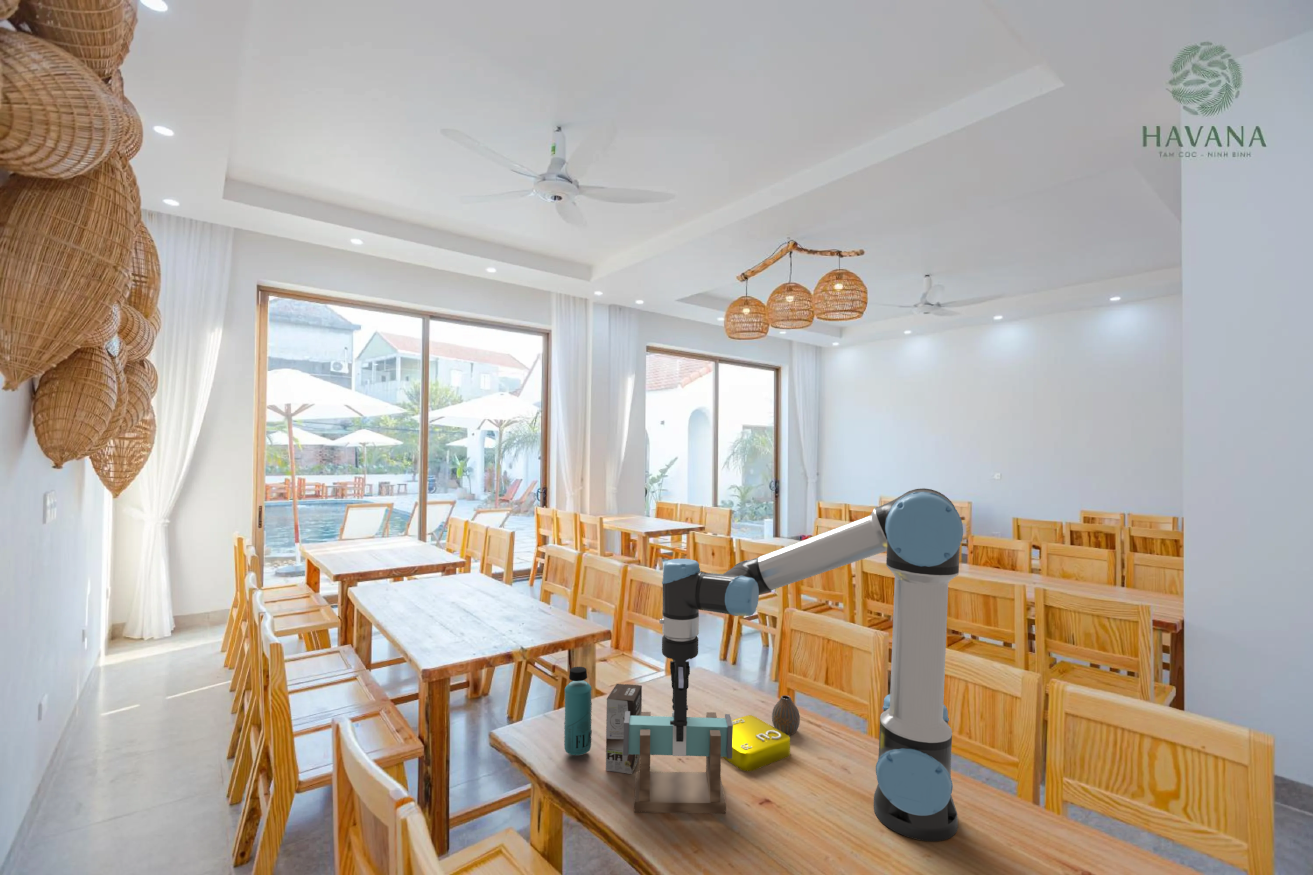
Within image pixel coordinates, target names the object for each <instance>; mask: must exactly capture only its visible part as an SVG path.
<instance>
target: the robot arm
mask: <svg viewBox="0 0 1313 875" xmlns="http://www.w3.org/2000/svg"><path fill="white" fill-rule="evenodd" d="M963 536H964V527H963V522H962V518H961V516H960V514H959V512H958V510H957V509H956V506H955V505H954V503H953V502H952V501H951V500H950V499H949V498H948V497H947V496H946V495H945V494H943V493H942V492H940V491H938V490H934V489H932V488H925V487H922V488H914V489H911V490H909V491H907V492H905V493H903V494H902V495H900V496H898V497H897V498H895V499H892V500H891V501H888V502H886V503H883V504H882V505H880V506H877V507H874V508H873V509H872V512H871V514H869V515H867V516H865V517H863V518H860V519H857V520H855V521H852V522H848V523H846V524H842V525H841V526H838V527H834V528H833V529H829V530H827V531H824V532H822V533H819V534H817V535H816V534H815V535H814V536H811V537H808V538H806V539H803V540H800V541H798V542H796V543H792V544H790V545H787V546H784V547H782V548H781V547H780V548H779V549H776V550H774V551H769V552H768V553H765V554H763V555H760V556H758V557H755V558H752V559H748V560H747V559H746V560H743V561H740V562H738V563H736V564H735V565H734V566H733V567H732V568H730V569H729V570H727V571H726V572H724V573H713V572H711V573H710V572H704V571H701V569H700V568H701V567H700V563H699V561H697V560H694V559H690V558H673V559H669V560H667V561H666V562H665V563H664V565H663V570H662V572H663V573H662V581H661V584H662V618H660V619H659V624H660V625H662V628H661V629H662V631H661V633H662V634H663V635H662V636H661V653H662V655H663V656H664V657H665V658H667V659H671V660H670V661H669V669H670V670H669V671H670V672H669V673H670V679H671V680H670V681H671V688H672V698H671V701H672V705H671V706H672V707H671V709H672V710H673V711H672V713H671V714H672V715H671V717H674V720H673V721H670V725H673V755H672V756H673V757H687V756H686V726H687V717H688V715H687V714H688V713H687V712H688V710H689V706H688V689H689V684H690V683H689V681H690V680H689V676H690V674H691V673H690V672H691V666H690V661H688V660H692V659H694V658H696V657H697V656H698V655H699V637H698V636H699V634H700V613H699V612H700V611H706V612H713V613H719V614H724V615H731V616H734V617H739V616H741V617H750V616H753V615H755V613H756V610H757V608H758V605H759V599H760V598H759V597H760V596H759V595H763V594H766V593H768V592H771V591H774V590H776V589H779V588H781V587H785V586H787V585H792V584H794V583H797V582H800V581H802V580H807V579H809V578H811V577H814V576H818V575H820V574H823V573H826V572H828V571H833V570H836V569H838V568H841V567H845V566H846V565H851V564H853V563H856V562H859V561H861V560H864V559H867V558H870V557H873V556H876V555H879V554H882V553H885V552H886V563H885V565H886V567H887V569H888V570H889V571H890V572H891V573H892V574H893V575H894V593H893V615H892V616H893V619H892V638H891V639H892V641H891V642H892V644H891V663H890V664H891V669H890V673H891V674H890V690H889V691H890V693H889V694H887V695H885V697H884V699H883V706H882V710H883V712H882V713H881V714H880V717H879V734H878V735H879V738H878V740H879V741H878V757H877V762H876V764H875V776H876V779H877V780H876V781H877V786H876V788H875V791H874V795H873V812H874V814H875V816H876V818H878V820H879V821H880V822H881V823H882V824H883V825H884V826H886V827H887V828H888V829H890V830H891V831H894V832H896V833H897V834H899V835H902V836H904V837H907V838H910V839H914V840H917V841H923V842H939V841H941V842H942V841H946V840H948V839H950V838H952V837H954V836H955V834H956V833H957V832H958V828H959V826H958V825H959V824H958V822H959V821H958V820H959V817H958V812H957V808H956V806H955V805H956V804H955V802H954V799H953V796H952V793H953V788H954V787H953V786H954V785H953V781H952V776H951V773H952V769H951V768H952V747H953V746H952V743H953V742H952V741H953V730H952V728H951V727H950V725H949V722H950V718H949V712H948V708H947V707H946V705H945V704H944V703H945V700H944V699H945V698H944V696H945V677H946V676H945V673H946V672H945V671H946V653H947V652H946V651H947V624H948V606H949V605H948V604H949V602H948V600H949V599H948V598H949V583H950V582H951V581H952V580H953V579H955V578H956V577H957V576H958V575H959V572H960V570H959V568H960V555H961V554H960V548H961V544H962V543H961V542H962V541H963ZM699 610H700V611H699Z"/></svg>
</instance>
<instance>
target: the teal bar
mask: <svg viewBox="0 0 1313 875" xmlns="http://www.w3.org/2000/svg"><path fill="white" fill-rule="evenodd" d="M673 720H674V717H672V716H665V715H664V716H663V715H662V716H661V715H658V716H657V715H655V716H654V715H651V716H630V711H625V719H624V742H623V756H628V754H640V729H642V730H650V756H673V725H670V721H673ZM731 720H732V717H731V714H730V713H725V714H724V717H717V718H706V717H695V716H694V717H693V716H692V717H691V716H687V726H686V756H685V757H689V756H690V757H706V756H710V730H720V734H721V758H723V757H727V758H728V759H732V741H733V724H732V721H731Z"/></svg>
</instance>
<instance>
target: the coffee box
mask: <svg viewBox="0 0 1313 875" xmlns="http://www.w3.org/2000/svg"><path fill="white" fill-rule="evenodd" d="M642 688H643V685H639V684H627V683H626V684H624V683H622V684H621V683H616V684H615V686H614V687H613V688H612V690H611V692H610V693H609V695H608V696H607V698H606V720H605V721H606V726H605V727H606V730H605V734H606V735H605V741H606V743H605V771H607V772H614V773H622V774H629V775H632V774H633V773H634V770H635V768H636V766H637V764H638V762H639V761H640V754H628V756H623V742H624V719H625V711H630V716H641V712H643V711H642V705H643V703H642V702H643V700H642V698H643V694H642V693H643V690H642Z"/></svg>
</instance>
